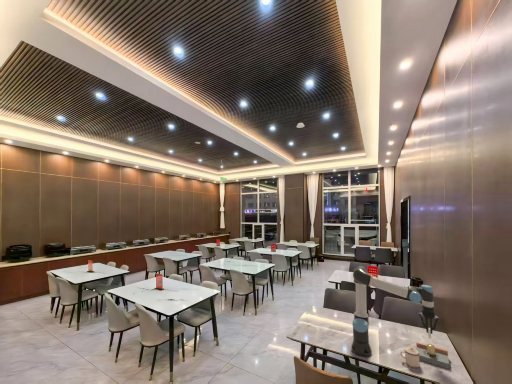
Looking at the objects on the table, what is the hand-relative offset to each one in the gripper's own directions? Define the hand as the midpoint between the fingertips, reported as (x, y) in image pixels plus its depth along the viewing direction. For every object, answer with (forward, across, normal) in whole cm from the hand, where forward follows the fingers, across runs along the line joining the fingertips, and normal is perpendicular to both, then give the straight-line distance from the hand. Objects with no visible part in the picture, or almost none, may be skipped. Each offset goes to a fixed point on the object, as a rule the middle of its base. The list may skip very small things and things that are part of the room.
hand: (429, 337), depth 180 cm
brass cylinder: (+16, +1, 0) cm, 16 cm away
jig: (+16, +1, 0) cm, 16 cm away
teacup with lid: (+16, -12, -16) cm, 26 cm away
